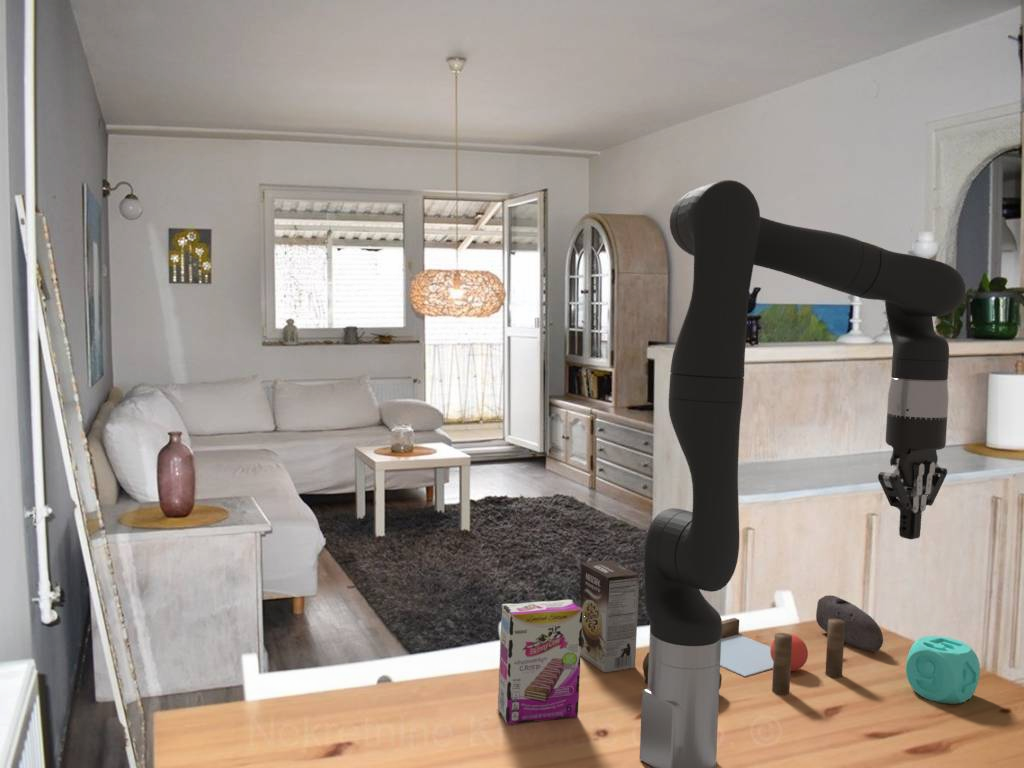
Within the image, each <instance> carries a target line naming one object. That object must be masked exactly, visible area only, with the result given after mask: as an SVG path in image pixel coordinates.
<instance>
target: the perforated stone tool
mask: <svg viewBox="0 0 1024 768" xmlns="http://www.w3.org/2000/svg"><path fill="white" fill-rule="evenodd" d="M815 619H816V623H817V625H818V626H819V627H820V629H822V630H823V631H825V632H826V634H828V620H829V619H839V620H843V621H844V622H845V631H844V644H845V643H846V644H848V645H851V646H852V647H854V648H855V647H856V648H857V649H859V650H860V649H861V650H863V651H868V652H876V651H878V650H880V649H881V648H882V646H883V644H884V636H883V632H882V629H881V627H880V626H879V624H878V623H877V622H876V621H875V620H874V618H873V617H872V616H870V615H869V614H868V613H867V612H866V611H863V610H862V609H860V608H859V607H858V606H856V605H855V604H853V603H852V602H850V601H847V600H845V599H843V598H840V597H839V596H835V595H824V596H823V597H821V598H819V599H818V600H817V607H816V612H815Z"/></svg>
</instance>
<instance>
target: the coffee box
mask: <svg viewBox="0 0 1024 768" xmlns="http://www.w3.org/2000/svg"><path fill="white" fill-rule="evenodd" d="M639 585H640V573H637V572H635V571H633V570H631V569H629V568H627V567H626V566H623V565H622V564H619V563H618V562H615V561H614V560H613V559H610V560H595V561H587V562H582V563H580V586H579V588H580V589H579V590H580V593H579V595H580V597H579V607H580V608H581V609H582V610H583V611H582V633H581V655H580V657H582V658H584V659H585V660H587V661H588V662H589V663H590V664H592V665H593V666H595V667H596V668H597V669H598V670H600V671H601V670H602V671H601V672H603V673H611V671H612V672H617V671H616V670H618V671H622V670H621V669H624V670H629V668H630V669H635V668H636V659H637V658H636V656H637V655H636V653H637V650H636V649H637V634H638V633H637V630H638V611H639V609H638V608H639V591H640V590H639V589H640V586H639ZM584 616H585V617H584ZM634 667H635V668H634Z"/></svg>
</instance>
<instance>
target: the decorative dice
mask: <svg viewBox="0 0 1024 768" xmlns="http://www.w3.org/2000/svg"><path fill="white" fill-rule="evenodd" d="M980 665H981V664H980V661H979V657H978V656H977V654H976V653H975V651H974V650H973V648H972V647H971V646H970V645H969V644H967V643H965V642H964V641H961V640H958V639H955V638H950V637H944V636H938V635H937V636H936V635H934V636H933V635H932V636H931V635H928V636H927V635H926V636H922V637H920V638H918V639H916V641H915V642H914V643H913V644H912V646H911V647H910V650H909V652H908V655H907V659H906V664H905V676H906V678H907V681H908V683H909V685H910V687H911V688H912V689H913V690H914V692H915V693H916V694H917V695H919V696H920V697H922V698H924V699H927V700H929V701H932V702H935V701H936V703H940V702H941V703H942V704H946V703H960V704H963V703H962V702H964V703H966V702H967V701H966V700H968V699H969V700H971V698H972V697H973V696H974V694H975V692H976V689H977V687H978V684H979V679H980V673H981V672H980V671H981V668H980ZM969 700H968V701H969ZM965 701H966V702H965Z"/></svg>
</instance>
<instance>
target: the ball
mask: <svg viewBox="0 0 1024 768" xmlns="http://www.w3.org/2000/svg"><path fill="white" fill-rule="evenodd" d="M788 634H789V635H791V636H792V649H791V669H790V672H794V671H797V670H800V669H802V668H803V667H804V665H806V663H807V660H808V656H809V652H808V648H807V645H806V643H805V642H804V640H803V639H802V638H800V637H799V636H797V635H795V634H793V633H792V634H791V633H788ZM774 641H775V639H773V641H772V643H771V644H770V647H771V648H770V654H771V658H772V660H773V662H774Z"/></svg>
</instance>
